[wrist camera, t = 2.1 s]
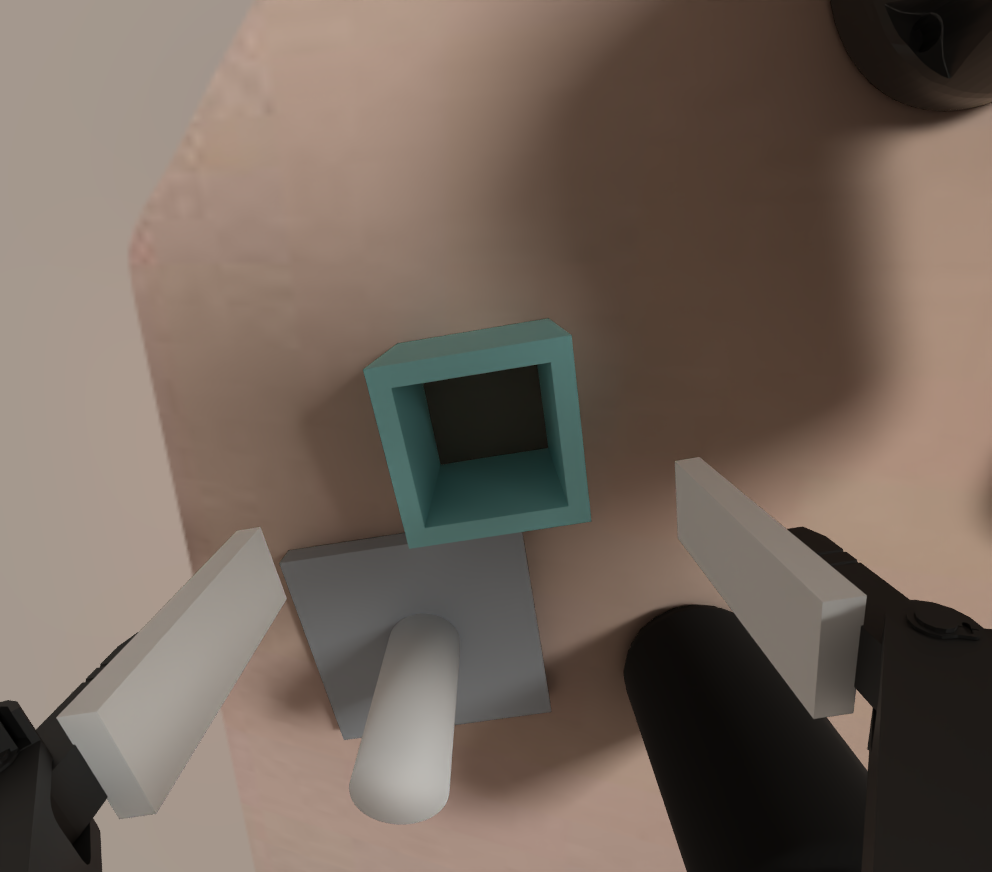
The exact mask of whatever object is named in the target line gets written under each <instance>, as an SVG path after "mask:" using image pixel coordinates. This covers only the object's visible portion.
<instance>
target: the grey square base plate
mask: <svg viewBox="0 0 992 872" xmlns="http://www.w3.org/2000/svg"><path fill="white" fill-rule="evenodd" d="M279 564H280V567H281V569H282V572H283V575H284V578H285V580H286V583H287V586H288V588H289V591H290V594H291V597H292V599H293V602H294V605H295V608H296V610H297V613H298V616H299V619H300V621H301V624H302V627H303V629H304V632H305V635H306V638H307V640H308V643H309V646H310V649H311V651H312V654H313V657H314V659H315V662H316V665H317V668H318V670H319V673H320V676H321V679H322V681H323V684H324V687H325V690H326V692H327V695H328V698H329V700H330V703H331V706H332V709H333V711H334V714H335V717H336V720H337V722H338V725H339V728H340V731H341V733H342V736H343V739H344V740H348V739H355V738H362V740H361V743H360V747H359V751H358V754H357V758H356V762H355V765H354V769H353V773H352V776H351V780H350V784H349V792H350V796H351V799H352V801H353V802H354V804H355V805H356V806H357V808H358V809H359V810H360V811H362V812H363V813H364V814H366V815H367V816H369V817H371V818H373V819H375V820H378V821H381V822H385V823H390V824H413V823H418V822H421V821H424V820H427V819H429V818H431V817H433V816H434V815H436V814H437V813H438V812H439V811H441V810H442V808H443V807H444V806H445V804H446V803H447V800H448V797H449V790H450V777H451V763H452V750H453V737H454V725H458V724H466V723H473V722H480V721H488V720H495V719H503V718H510V717H517V716H525V715H532V714H540V713H547V712H551V706H550V699H549V692H548V686H547V680H546V674H545V668H544V662H543V655H542V649H541V643H540V637H539V631H538V625H537V619H536V613H535V606H534V600H533V594H532V588H531V582H530V576H529V570H528V563H527V557H526V551H525V545H524V539H523V533H522V532H518V533H512V534H505V535H498V536H492V537H485V538H478V539H472V540H465V541H458V542H452V543H445V544H438V545H432V546H425V547H418V548H412V549H409V547H408V543H407V539H406V535H405V533H401V534H394V535H388V536H381V537H375V538H368V539H361V540H355V541H348V542H342V543H335V544H328V545H322V546H315V547H309V548H302V549H295V550H289V551H288V552H287V553H286V555H285V556H284V557H283V559H282V560H281V562H280V563H279Z"/></svg>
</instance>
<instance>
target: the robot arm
mask: <svg viewBox="0 0 992 872" xmlns="http://www.w3.org/2000/svg"><path fill="white" fill-rule="evenodd" d="M831 6H832V11H833V15H834V19H835V23H836V26H837V29H838V32H839V34H840V37H841V39H842V42H843V44H844V46H845V48H846V50H847V52H848V54H849V56H850V57H851V59H852V60H853V62H854V64H855V65H856V66H857V68H858V69H859V70H860V72H861V73H862V74H863V75H864V76H865V77H866V78H867V79H868V80H869V81H870V82H871V83H872V84H873V85H874V86H875V87H876V88H878V89H879V90H880V91H882V92H883V93H884V94H886V95H888V96H889V97H891V98H893V99H895V100H897V101H899V102H901V103H903V104H906V105H909V106H912V107H916V108H921V109H926V110H934V111H953V110H962V109H968V108H973V107H978V106H981V105H984V104H988V103H991V102H992V0H831ZM675 479H676V504H677V529H678V539H679V540H680V542H681V543H682V544H683V546H684V547H685V548H686V550H687V551H688V552H689V554H690V555H691V556H692V558H693V559H694V560H695V562H696V563H697V564H698V566H699V567H700V568H701V570H702V571H703V572H704V574H705V575H706V576H707V578H708V579H709V580H710V582H711V583H712V584H713V586H714V587H715V588H716V590H717V591H718V592H719V594H720V595H721V596H722V598H723V599H724V600H725V602H726V603H727V604H728V606H729V607H730V608H731V610H732V611H733V612H734V614H735V615H736V616H737V618H738V619H739V620H740V622H741V623H742V624H743V626H744V627H745V628H746V630H747V631H748V632H749V634H750V635H751V636H752V638H753V639H754V640H755V642H756V643H757V644H758V646H759V647H760V648H761V650H762V651H763V652H764V654H765V655H766V656H767V658H768V659H769V660H770V662H771V663H772V664H773V666H774V667H775V668H776V670H777V671H778V672H779V674H780V675H781V676H782V678H783V679H784V680H785V682H786V683H787V684H788V686H789V687H790V688H791V690H792V691H793V692H794V694H795V695H796V696H797V698H798V699H799V700H800V702H801V703H802V704H803V706H804V707H805V708H806V710H807V711H808V712H809V714H810V715H811V716H812V718H813V719H817V718H823V717H830V716H837V715H844V714H851V713H853V712H854V703H855V694H856V689H857V690H858V691H859V693H860V694H861V695H862V696H863V697H864V698H865V699H866V700H867V701H868V702H869V704H870V705H871V706H872V707H873V711H872V718H871V726H870V733H869V741H868V749H867V750H869V762H868V778H867V793H866V808H865V823H864V838H863V854H862V869H861V872H992V629H984V628H983V627H981V626H980V625H979V624H978V623H976V622H975V621H974V620H973V619H971V618H970V617H968V616H966V615H964V614H962V613H960V612H958V611H956V610H954V609H952V608H949V607H946V606H943V605H940V604H936V603H933V602H926V601H919V600H909V599H908V598H907V597H905V596H904V595H903V594H901V593H900V592H899V591H897V590H896V589H895V588H893V587H892V586H891V585H890V584H888V583H887V582H886V581H884V580H883V579H882V578H880V577H879V576H878V575H876V574H875V573H874V572H872V571H871V570H870V569H868V568H867V567H866V566H864V565H863V564H862V563H858V562H857V560H856V559H855V558H854V557H852V556H851V555H850V554H848V553H847V552H843V549H842V548H841V547H839V546H838V545H837V544H835V543H834V542H833V541H831V540H830V539H829V538H827V537H826V536H824V535H821V534H819V533H817V532H814V531H812V530H810V529H807V528H805V527H797V528H790V529H786V528H785V527H783V526H782V525H781V524H780V523H779V522H777V521H776V520H775V519H774V518H773V517H771V516H770V515H769V514H768V513H767V512H765V511H764V510H763V509H762V508H761V507H759V506H758V505H757V504H756V503H755V502H753V501H752V500H751V499H750V498H748V497H747V496H746V495H745V494H744V493H742V492H741V491H740V490H739V489H738V488H736V487H735V486H734V485H733V484H732V483H730V482H729V481H728V480H727V479H726V478H724V477H723V476H722V475H721V474H719V473H718V472H717V471H716V470H715V469H713V468H712V467H711V466H710V465H709V464H707V463H706V462H705V461H704V460H703V459H701V458H700V457H696V458H690V459H684V460H677V461H675ZM286 599H287V598H286V595H285V592H284V590H283V587H282V584H281V581H280V579H279V576H278V573H277V571H276V568H275V565H274V562H273V560H272V557H271V554H270V552H269V549H268V546H267V543H266V541H265V538H264V535H263V533H262V530H261V527H257V528H251V529H244V530H238V531H236V532H235V533H234V534H233V535H232V536H231V537H230V538H229V539H228V540H227V541H226V542H225V543H224V544H223V545H222V547H221V548H220V549H219V550H218V551H217V552H216V553H215V554H214V555H213V556H212V557H211V558H210V559H209V560H208V561H207V562H206V563H205V564H204V565H203V566H202V567H201V568H200V569H199V570H198V571H197V572H196V573H195V574H194V575H193V577H192V578H191V579H190V580H189V581H188V582H187V583H186V584H185V585H184V586H183V587H182V588H181V589H180V590H179V591H178V592H177V593H176V594H175V595H174V596H173V597H172V598H171V599H170V600H169V601H168V602H167V604H166V605H165V606H164V607H163V608H162V609H161V610H160V611H159V612H158V613H157V614H156V615H155V616H154V617H153V618H152V619H151V620H150V621H149V622H148V623H147V624H146V625H145V626H144V627H143V628H142V629H141V630H140V631H139V632H138V633H136V634H135V635H133V636H132V637H131V638H129V639H128V640H127V641H125V642H124V643H122V644H121V645H119V646H118V647H117V648H116V649H115V650H114V651H113V652H112V653H111V654H110V655H109V656H108V657H107V658H106V659H105V660H104V661H103V662H102V663H101V666H100V668H96V669H95V670H94V671H93V672H92V673H91V674H90V675H89V676H88V678H87V679H86V682H85V683H82V684H81V685H80V686H79V687H78V688H77V689H76V690H75V691H74V692H73V693H72V694H71V695H70V696H69V697H68V698H67V699H66V700H65V701H64V702H63V703H62V704H61V705H60V706H59V707H58V708H57V709H56V710H55V711H54V712H53V713H52V714H51V715H50V716H49V717H48V718H47V719H46V720H45V721H44V722H43V723H42V724H41V725H40V726H39V727H38V728H37V729H36V730H35V728H34V727H33V725H32V724H31V722H30V721H29V719H28V717H27V716H26V715H25V713H24V711H23V710H22V708H21V707H20V705H19V704H18V702H16V701H9V700H7V701H3V702H0V872H102V859H101V838H100V830H99V828H98V826H97V824H96V822H95V821H94V819H93V817H94V816H95V814H96V813H97V811H98V810H99V809H100V807H101V806H102V804H103V803H104V802H105V800H106V799H107V800H108V802H109V803H110V805H111V806H112V808H113V810H114V811H115V813H116V814H117V816H118V817H119V819H124V818H130V817H138V816H145V815H152V814H156V813H157V812H158V810H159V809H160V807H161V805H162V804H163V802H164V800H165V799H166V797H167V795H168V794H169V792H170V790H171V789H172V787H173V786H174V784H175V782H176V781H177V779H178V777H179V776H180V774H181V772H182V771H183V769H184V768H185V766H186V764H187V762H188V761H189V759H190V758H191V756H192V754H193V753H194V751H195V749H196V748H197V746H198V744H199V743H200V741H201V739H202V738H203V736H204V734H205V733H206V731H207V729H208V728H209V726H210V725H211V723H212V721H213V720H214V718H215V716H216V715H217V713H218V711H219V710H220V708H221V707H222V705H223V703H224V702H225V700H226V698H227V697H228V695H229V693H230V692H231V690H232V688H233V687H234V685H235V683H236V682H237V680H238V678H239V677H240V675H241V674H242V672H243V670H244V669H245V667H246V665H247V664H248V662H249V660H250V659H251V657H252V655H253V654H254V652H255V650H256V649H257V647H258V645H259V644H260V642H261V641H262V639H263V637H264V636H265V634H266V632H267V631H268V629H269V627H270V626H271V624H272V622H273V621H274V619H275V617H276V616H277V614H278V613H279V611H280V609H281V608H282V606H283V604H284V603H285V601H286Z"/></svg>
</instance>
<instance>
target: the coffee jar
mask: <svg viewBox="0 0 992 872" xmlns="http://www.w3.org/2000/svg"><path fill="white" fill-rule="evenodd" d="M624 679H625V685H626V690H627V693H628V696H629V699H630V702H631V705H632V708H633V711H634V714H635V717H636V720H637V723H638V726H639V729H640V732H641V735H642V738H643V741H644V744H645V747H646V750H647V753H648V756H649V759H650V762H651V765H652V768H653V771H654V774H655V777H656V780H657V783H658V786H659V789H660V792H661V795H662V798H663V801H664V804H665V807H666V810H667V813H668V816H669V819H670V822H671V825H672V828H673V831H674V834H675V837H676V840H677V843H678V846H679V849H680V852H681V855H682V858H683V861H684V864H685V867H686V870H687V872H861V869H862V854H863V838H864V823H865V808H866V793H867V778H868V771H867V770H866V768H865V767H864V766H863V764H862V763H861V762H860V761H859V759H858V758H857V757H856V755H855V754H854V753H853V751H852V750H851V749H850V747H849V746H848V745H847V744H846V742H845V741H844V740H843V738H842V737H841V736H840V734H839V733H838V732H837V730H836V729H835V728H834V727H833V725H832V724H831V723H830V721H829V720H828V719H827V717H823V718H817V719H813V718H812V716H811V715H810V714H809V712H808V711H807V710H806V708H805V707H804V706H803V704H802V703H801V702H800V700H799V699H798V698H797V696H796V695H795V694H794V692H793V691H792V690H791V688H790V687H789V686H788V684H787V683H786V682H785V680H784V679H783V678H782V676H781V675H780V674H779V672H778V671H777V670H776V668H775V667H774V666H773V664H772V663H771V662H770V660H769V659H768V658H767V656H766V655H765V654H764V652H763V651H762V650H761V648H760V647H759V646H758V644H757V643H756V642H755V640H754V639H753V638H752V636H751V635H750V634H749V632H748V631H747V630H746V628H745V627H744V626H743V624H742V623H741V622H740V620H739V619H738V618H737V616H736V615H735V614H734V613H733V612H730V611H728V610H725V609H722V608H717V607H715V606H705V605H690V606H684V607H679V608H674V609H672V610H670V611H667V612H665V613H663V614H661V615H659V616H657V617H655V618H654V619H653V620H651V621H650V622H649V623H648V624H647V625H645V626H644V627H643V628H642V629H641V630H640V631H639V633H638V635H637V636H636V638H635V639H634V641H633V642H632V644H631V647H630V649H629V650H628V654H627V658H626V662H625V667H624Z"/></svg>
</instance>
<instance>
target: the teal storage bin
mask: <svg viewBox="0 0 992 872" xmlns="http://www.w3.org/2000/svg"><path fill="white" fill-rule="evenodd" d="M531 365H537V367H538V374H539V382H540V389H541V397H542V404H543V412H544V419H545V427H546V434H547V442H548V448H544V449H538V450H531V451H525V452H518V453H512V454H506V455H499V456H493V457H486V458H480V459H474V460H467V461H461V462H454V463H448V464H442V465H441V464H440V459H439V455H438V450H437V446H436V441H435V436H434V432H433V427H432V423H431V418H430V413H429V409H428V404H427V399H426V395H425V390H424V386H423V383H427V382H433V381H439V380H445V379H451V378H457V377H463V376H469V375H476V374H482V373H488V372H494V371H500V370H506V369H512V368H518V367H525V366H531ZM363 371H364V375H365V379H366V383H367V387H368V391H369V395H370V399H371V403H372V406H373V410H374V414H375V418H376V422H377V426H378V430H379V434H380V438H381V442H382V445H383V449H384V453H385V457H386V461H387V465H388V469H389V473H390V477H391V480H392V484H393V488H394V492H395V496H396V500H397V504H398V508H399V512H400V515H401V519H402V523H403V527H404V531H405V535H406V539H407V543H408V547H409V549H412V548H418V547H425V546H432V545H438V544H445V543H452V542H458V541H465V540H472V539H478V538H485V537H492V536H498V535H505V534H512V533H518V532H525V531H532V530H538V529H545V528H552V527H558V526H565V525H572V524H578V523H585V522H591V513H590V503H589V494H588V485H587V475H586V466H585V457H584V447H583V438H582V429H581V419H580V410H579V401H578V391H577V382H576V373H575V363H574V354H573V345H572V335H571V334H569V333H568V332H567V331H565V330H564V329H562V328H561V327H560V326H558V325H557V324H556V323H554V322H553V321H551V320H550V319H549V318H547V319H541V320H535V321H529V322H523V323H517V324H511V325H505V326H499V327H493V328H487V329H481V330H475V331H469V332H463V333H457V334H451V335H445V336H439V337H433V338H427V339H421V340H415V341H409V342H403V343H397V344H396V345H395V346H393V347H392V348H391V349H389V350H388V351H387V352H385V353H384V354H383V355H381V356H380V357H379V358H377V359H376V360H375V361H373V362H372V363H371V364H370V365H368V366H367V367H366V368H364V369H363Z"/></svg>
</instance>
